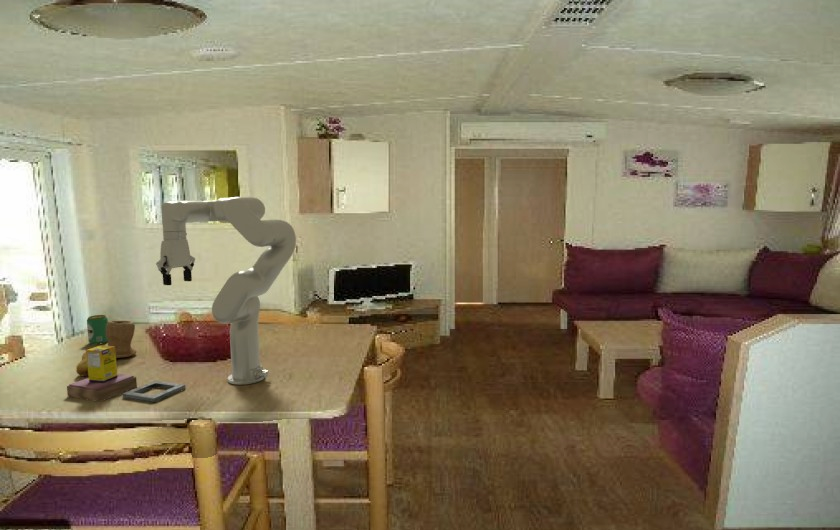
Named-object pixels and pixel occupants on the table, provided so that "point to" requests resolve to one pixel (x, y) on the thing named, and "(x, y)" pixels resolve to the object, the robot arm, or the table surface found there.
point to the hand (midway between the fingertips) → (177, 283)
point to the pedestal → (101, 388)
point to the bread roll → (83, 366)
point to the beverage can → (97, 329)
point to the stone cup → (121, 337)
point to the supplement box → (101, 364)
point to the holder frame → (171, 387)
